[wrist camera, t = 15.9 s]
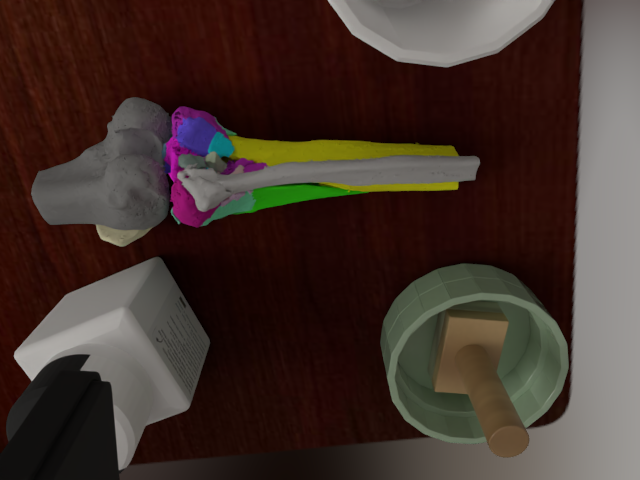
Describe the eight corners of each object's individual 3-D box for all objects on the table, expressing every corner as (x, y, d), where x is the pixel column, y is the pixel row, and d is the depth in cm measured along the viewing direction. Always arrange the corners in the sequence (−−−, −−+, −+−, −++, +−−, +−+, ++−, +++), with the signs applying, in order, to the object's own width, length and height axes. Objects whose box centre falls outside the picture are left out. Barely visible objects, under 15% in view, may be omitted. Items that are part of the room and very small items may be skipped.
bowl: (391, 253, 38) (402, 286, 34) (556, 266, 39) (589, 301, 34) (370, 392, 43) (377, 438, 38) (519, 402, 43) (544, 449, 38)
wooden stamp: (441, 297, 39) (484, 394, 29) (497, 302, 39) (559, 399, 29) (427, 369, 41) (462, 482, 31) (480, 373, 41) (532, 486, 31)
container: (121, 377, 42) (43, 523, 30) (64, 293, 39) (-48, 416, 27) (213, 341, 41) (169, 478, 29) (160, 253, 38) (88, 363, 26)
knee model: (426, 168, 41) (73, 198, 38) (446, 67, 35) (31, 93, 32) (467, 260, 35) (49, 304, 32) (500, 155, 29) (-10, 198, 26)
